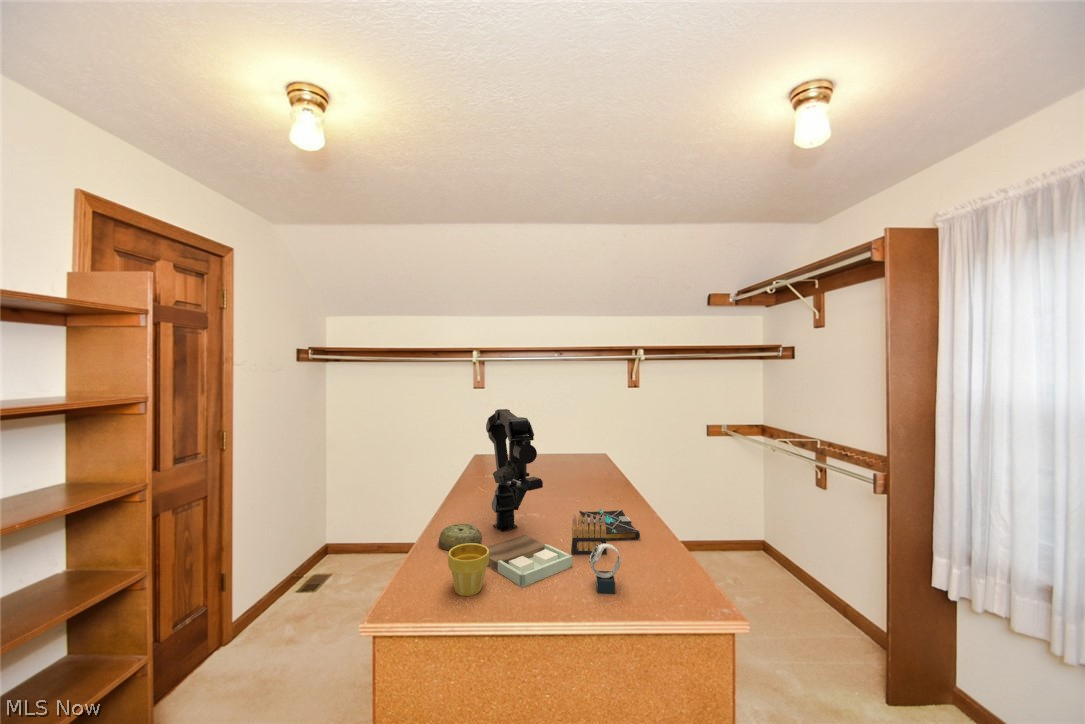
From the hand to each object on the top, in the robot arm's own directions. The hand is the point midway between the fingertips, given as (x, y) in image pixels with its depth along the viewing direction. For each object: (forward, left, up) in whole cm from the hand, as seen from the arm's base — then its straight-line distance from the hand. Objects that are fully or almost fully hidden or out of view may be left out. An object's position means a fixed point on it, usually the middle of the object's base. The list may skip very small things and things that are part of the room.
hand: (517, 505), depth 140 cm
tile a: (+17, -2, -11) cm, 20 cm away
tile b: (+16, -10, -11) cm, 22 cm away
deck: (+6, -7, -12) cm, 15 cm away
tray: (+17, -7, -12) cm, 22 cm away
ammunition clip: (+20, +12, -12) cm, 26 cm away
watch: (+37, 0, -12) cm, 39 cm away
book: (+10, +32, -13) cm, 36 cm away
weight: (-12, -14, -12) cm, 22 cm away
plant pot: (+15, -27, -12) cm, 33 cm away
